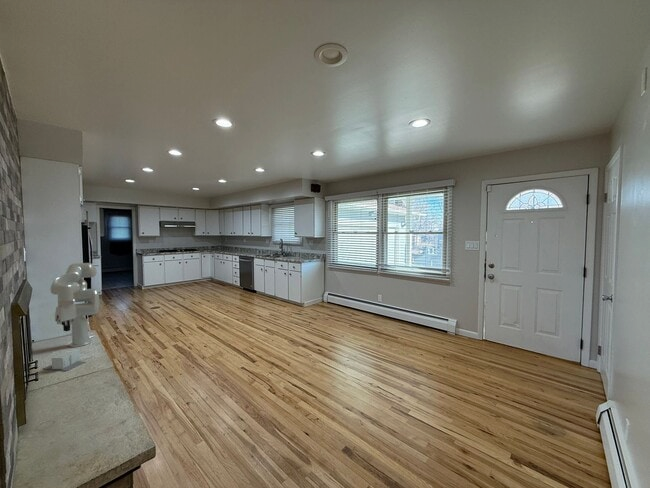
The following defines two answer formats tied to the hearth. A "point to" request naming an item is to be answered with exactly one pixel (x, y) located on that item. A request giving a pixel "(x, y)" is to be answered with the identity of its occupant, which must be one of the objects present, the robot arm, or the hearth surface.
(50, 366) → the mat
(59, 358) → the supplement box
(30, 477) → the hearth surface
